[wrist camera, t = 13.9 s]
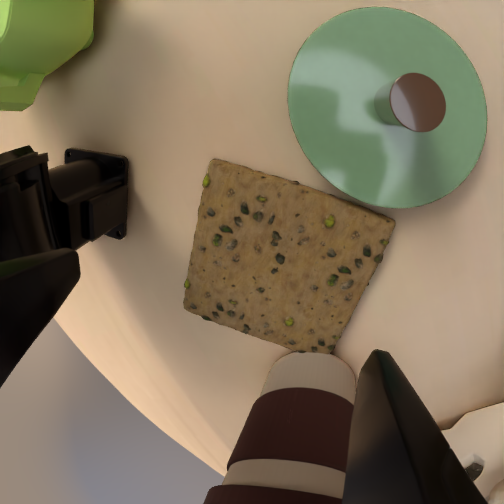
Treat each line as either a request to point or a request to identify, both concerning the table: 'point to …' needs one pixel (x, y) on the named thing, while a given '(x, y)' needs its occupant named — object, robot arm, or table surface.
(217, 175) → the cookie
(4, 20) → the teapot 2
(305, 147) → the lid
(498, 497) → the bust
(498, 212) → the table surface
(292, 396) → the coffee cup
